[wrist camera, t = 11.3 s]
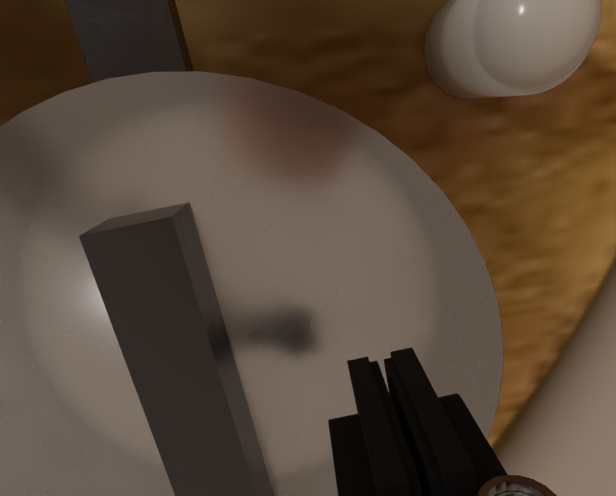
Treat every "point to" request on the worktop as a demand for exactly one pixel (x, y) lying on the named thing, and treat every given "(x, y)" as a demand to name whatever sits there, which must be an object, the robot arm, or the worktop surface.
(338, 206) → the lid
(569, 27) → the salt cellar
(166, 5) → the pot
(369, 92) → the worktop surface
